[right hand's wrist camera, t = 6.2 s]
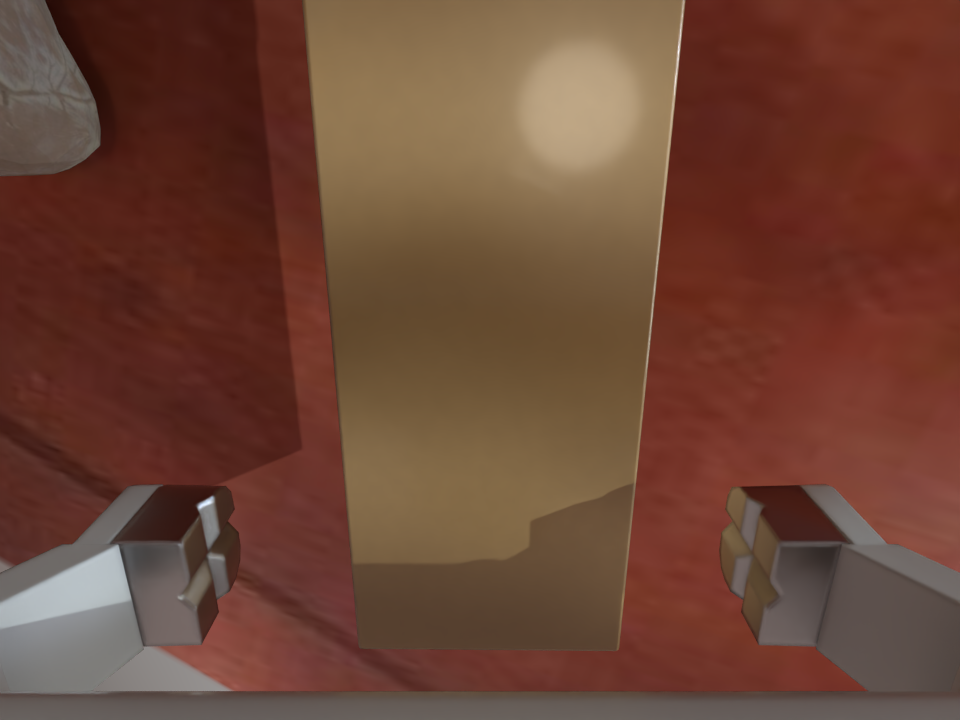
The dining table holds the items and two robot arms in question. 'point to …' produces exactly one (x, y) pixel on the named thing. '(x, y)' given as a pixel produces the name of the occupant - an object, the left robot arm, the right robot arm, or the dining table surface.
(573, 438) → the bar
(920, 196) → the dining table surface
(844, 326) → the dining table surface
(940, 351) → the dining table surface
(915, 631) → the right robot arm
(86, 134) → the lumpy boulder
